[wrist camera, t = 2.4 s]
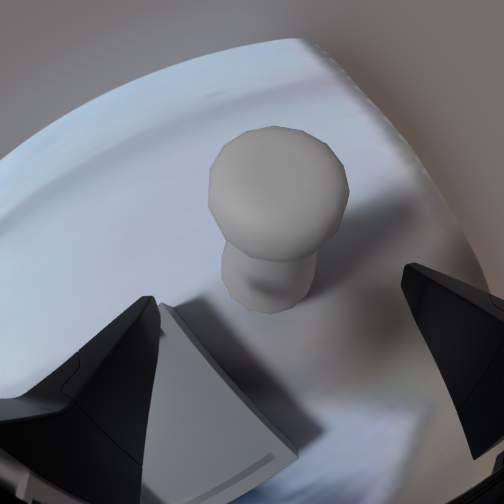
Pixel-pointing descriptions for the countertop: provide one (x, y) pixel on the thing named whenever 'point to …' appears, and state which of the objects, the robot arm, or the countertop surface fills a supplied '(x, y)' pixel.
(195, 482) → the tray
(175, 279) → the countertop surface
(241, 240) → the salt shaker
